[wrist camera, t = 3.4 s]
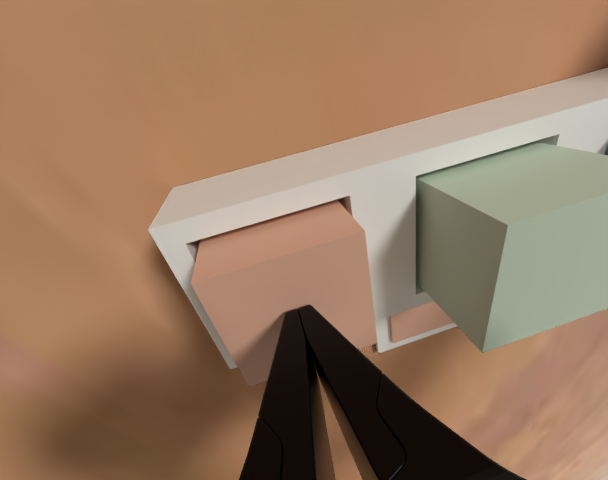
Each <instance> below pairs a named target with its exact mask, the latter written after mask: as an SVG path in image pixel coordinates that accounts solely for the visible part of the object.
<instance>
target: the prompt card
mask: <svg viewBox="0 0 608 480" xmlns="http://www.w3.org/2000/svg"><path fill="white" fill-rule="evenodd" d="M375 326H376V335H377V343H376V349H377V351H378V353H381V352H384V351H387V350H390V349H393V348H396V347H399V346H402V345H404V344H407V343H410V342H413V341H416V340H419V339H422V338H425V337H428V336H431V335H433V334H436V333H439V332H442V331H445V330H448V329H451V328H454V327H457V325H456V324H455V323H454V322H453V321H452V320H451V319H450V318H449V317H448V315H447V314H446V313H445V312H444V311H443V310H442V309H441V308H440V307H439V306H438V305H437V304H436V303H435V301H433V302H430V303H427V304H424V305H421V306H418V307H415V308H412V309H409V310H406V311H403V312H400V313H397V314H394V315H391V316H388V317H385V318H382V319H379V320H376V321H375Z"/></svg>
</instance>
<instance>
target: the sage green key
mask: <svg viewBox="0 0 608 480" xmlns="http://www.w3.org/2000/svg"><path fill="white" fill-rule="evenodd" d="M416 282H417V283H418V284H419V285H420V286H421V287H422V288H423V290H424V291H425V292H426V293H427V294H428V295H429V296H430V297H431V298H432V299H433V300H434V301H435V303H436V304H437V305H438V306H439V307H440V308H441V309H442V310H443V311H444V312H445V313H446V314H447V315H448V317H449V318H450V319H451V320H452V321H453V322H454V323H455V324H456V325H457V326H458V327H459V328H460V330H461V331H462V332H463V333H464V334H465V335H466V336H467V337H468V338H469V339H470V340H471V341H472V343H473V344H474V345H475V346H476V347H477V348H478V349H479V350H480V351H481V352H482V353H484V352H487V351H489V350H492V349H495V348H498V347H501V346H503V345H506V344H509V343H512V342H515V341H518V340H520V339H523V338H526V337H529V336H532V335H534V334H537V333H540V332H543V331H546V330H548V329H551V328H554V327H557V326H560V325H562V324H565V323H568V322H571V321H574V320H577V319H579V318H582V317H585V316H588V315H591V314H593V313H596V312H599V311H602V310H605V309H607V308H608V155H603V154H598V153H593V152H587V151H582V150H577V149H571V148H566V147H561V146H556V145H550V144H545V143H540V142H535V141H534V142H530V143H527V144H523V145H520V146H517V147H513V148H510V149H506V150H503V151H500V152H496V153H493V154H489V155H486V156H482V157H479V158H476V159H472V160H469V161H465V162H462V163H459V164H455V165H452V166H448V167H445V168H442V169H438V170H435V171H431V172H428V173H425V174H421V175H418V176H416Z"/></svg>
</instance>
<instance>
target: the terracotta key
mask: <svg viewBox="0 0 608 480" xmlns="http://www.w3.org/2000/svg"><path fill="white" fill-rule="evenodd" d="M191 285H192V287H193V289H194V291H195V293H196V294H197V296H198V298H199V300H200V301H201V303H202V305H203V307H204V309H205V310H206V312H207V314H208V316H209V317H210V319H211V321H212V323H213V325H214V326H215V328H216V330H217V332H218V333H219V335H220V337H221V339H222V341H223V342H224V344H225V346H226V348H227V349H228V351H229V353H230V355H231V357H232V358H233V360H234V362H235V364H236V365H237V367H238V369H239V371H240V373H241V374H242V376H243V378H244V380H245V381H246V383H247V385H248V387H250V386H253V385H256V384H259V383H262V382H265V381H267V380H268V376H269V372H270V368H271V365H272V361H273V357H274V353H275V349H276V345H277V342H278V338H279V334H280V330H281V326H282V322H283V319H284V315H285V312H287V311H289V310H293V309H299V307H302V306H305V305H308V304H310V305H312V306H313V307H314V308H315V309H316V310H317V311H318V312H319V313H320V314H321V315H322V316H323V317H324V318H325V319H326V320H328V321H329V322H330V323H331V324H332V325H333V326H334V327H335V328H336V329H337V330H338V331H339V332H340V333H341V334H342V335H343V336H344V337H345V338H347V339H348V340H349V341H350V342H351V343H352V344H353V345H354V346H355V347H356V348H357V349H358V350H359V349H362V348H365V347H368V346H370V345H373V344H376V343H377V335H376V326H375V317H374V308H373V299H372V290H371V281H370V272H369V263H368V254H367V245H366V236H365V230H364V229H363V228H362V227H361V226H360V225H359V224H358V222H357V221H356V220H355V219H354V218H353V217H352V216H351V215H350V214H349V212H348V211H347V210H346V209H345V208H344V207H343V206H342V205H341V203H340V202H339V201H338V200H337V199H336V200H333V201H329V202H326V203H322V204H319V205H316V206H312V207H309V208H305V209H302V210H299V211H295V212H292V213H288V214H285V215H282V216H278V217H275V218H271V219H268V220H265V221H261V222H258V223H254V224H251V225H248V226H244V227H241V228H237V229H234V230H231V231H227V232H224V233H220V234H217V235H214V236H210V237H207V238H203V239H200V243H199V248H198V252H197V257H196V262H195V266H194V271H193V276H192V280H191ZM298 311H299V310H298Z"/></svg>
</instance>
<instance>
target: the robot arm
mask: <svg viewBox="0 0 608 480" xmlns="http://www.w3.org/2000/svg"><path fill="white" fill-rule="evenodd" d="M298 310H299V311H298ZM315 367H316V368H315ZM316 370H317V371H316ZM317 373H318V375H317ZM318 376H319V379H320V381H321V384H322V386H323V388H324V391H325V393H326V395H327V398H328V400H329V402H330V405H331V407H332V409H333V412H334V414H335V416H336V419H337V421H338V423H339V426H340V428H341V430H342V433H343V435H344V437H345V440H346V442H347V444H348V447H349V449H350V451H351V454H352V456H353V458H354V461H355V463H356V465H357V468H358V470H359V472H360V475H361V477H362V479H363V480H526V479H524V478H522V477H520V476H518V475H516V474H514V473H512V472H510V471H509V470H507V469H505V468H504V467H502V466H500V465H499V464H497V463H496V462H494V461H493V460H491V459H490V458H488V457H487V456H486V455H484V454H483V453H482V452H480V451H479V450H478V449H476V448H475V447H474V446H472V445H471V444H470V443H468V442H467V441H466V440H464V439H463V438H462V437H460V436H459V435H458V434H456V433H455V432H454V431H452V430H451V429H450V428H448V427H447V426H446V425H445V424H443V423H442V422H441V421H439V420H438V419H437V418H435V417H434V416H433V415H431V414H430V413H429V412H427V411H426V410H425V409H424V408H422V407H421V406H420V405H419V404H417V403H416V402H415V401H414V400H412V399H411V398H410V397H409V396H408V395H407V394H405V393H404V392H403V391H402V390H401V389H400V388H399V387H398V386H396V385H395V384H394V383H393V382H392V381H391V380H390V379H389V378H388V377H387V376H386V375H385V374H382V372H381V371H380V370H379V369H378V368H377V367H376V366H375V365H374V364H373V363H372V362H371V361H370V360H369V359H368V358H367V357H366V356H364V355H363V354H362V353H361V352H360V351H359V350H358V349H357V348H356V347H355V346H354V345H353V344H352V343H351V342H350V341H349V340H348V339H347V338H345V337H344V336H343V335H342V334H341V333H340V332H339V331H338V330H337V329H336V328H335V327H334V326H333V325H332V324H331V323H330V322H329V321H328V320H326V319H325V318H324V317H323V316H322V315H321V314H320V313H319V312H318V311H317V310H316V309H315V308H314V307H313V306H312V305H310V304H308V305H305V306H302V307H299V309H293V310H289V311H287V312H285V315H284V319H283V322H282V326H281V330H280V334H279V338H278V342H277V345H276V349H275V353H274V357H273V361H272V365H271V368H270V372H269V376H268V380H267V384H266V388H265V392H264V395H263V399H262V403H261V407H260V411H259V415H258V416H259V418H257V422H256V426H255V429H254V433H253V437H252V440H251V444H250V447H249V451H248V454H247V457H246V460H245V463H244V466H243V469H242V472H241V475H240V478H239V480H335V474H334V469H333V463H332V457H331V451H330V445H329V439H328V433H327V427H326V421H325V415H324V409H323V403H322V397H321V391H320V385H319V380H318Z"/></svg>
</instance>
